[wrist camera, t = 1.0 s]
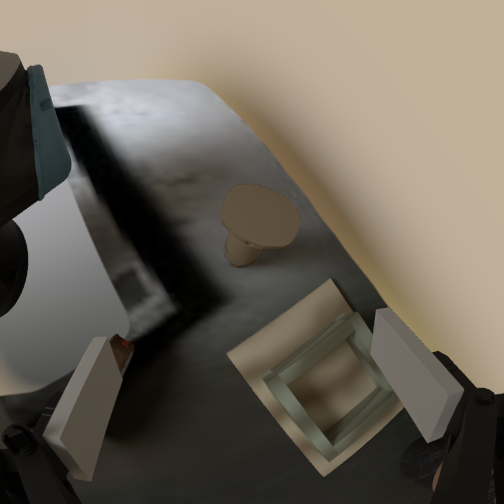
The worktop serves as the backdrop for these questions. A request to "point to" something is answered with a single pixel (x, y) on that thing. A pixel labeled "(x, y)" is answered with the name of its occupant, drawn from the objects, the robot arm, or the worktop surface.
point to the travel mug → (430, 465)
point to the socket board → (319, 377)
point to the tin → (122, 352)
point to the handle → (257, 222)
